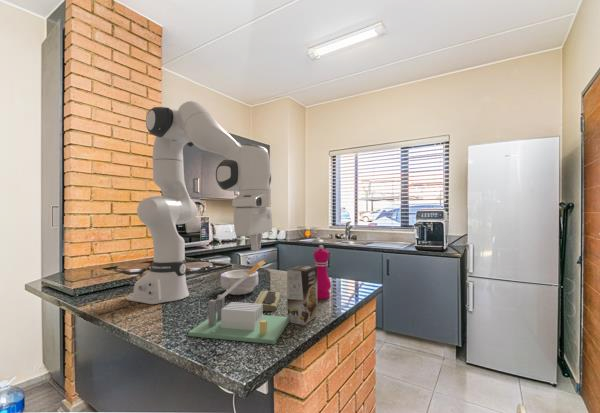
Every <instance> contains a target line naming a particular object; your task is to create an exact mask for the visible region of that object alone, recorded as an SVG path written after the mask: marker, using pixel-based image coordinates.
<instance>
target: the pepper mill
mask: <svg viewBox="0 0 600 413" xmlns="http://www.w3.org/2000/svg"><path fill="white" fill-rule="evenodd" d="M329 258H330V254H329V251H328V250H327V249H325V248H324V245H322V244H320V245H318V248H317V249H316V250H315V251H314V252H313V259H314V260H315V261H314V263H315V264H314V266H317V300H318V299H320V300H326V299H329V298H330V297H331V296H330V294H331V293H330V291H329V290H331V287H332V283H331V280H330V277H329V275H328V271H327V270H328V265H329V264H328V263H329V261H328V260H329Z"/></svg>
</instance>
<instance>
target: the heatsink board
mask: <svg viewBox="0 0 600 413" xmlns="http://www.w3.org/2000/svg"><path fill="white" fill-rule="evenodd" d="M221 295H222V294H218V295H216V296H217V298H219V297H220V296H221ZM225 297H226V296H225ZM225 297H224V298H223V299H222V300H221V301H220V302H219V303H217V304H216V299H217V298H216V299H209V300H208V317H207V318H206V319H205V320H204V321H202V322H201V323H199V324H198V325H197V326H195V327H194V328H192V329H190V330H189V331H188V334H187V335H188V336H189V337H197V338H208V339H215V340H217V339H218V340H226V341H227V340H229V341H238V342H247V343H249V342H250V343H259V344H268V345H275V344H276V343H277V341H278V340H279V338H280V336H281V335H282V334H283V332H284V330H285V329H286V327H288V326H287V325H288V324H289V323H290V322H289V318H287V316H279V315H269V314H268V315H267V314H264V313H263V312H264V311H263V304H254V302H253V303H250V302H238V301H237V302H236V301H235V302H234V301H230V302H229V303H227V304H226V305H225V303H226V302H225Z"/></svg>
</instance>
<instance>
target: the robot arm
mask: <svg viewBox="0 0 600 413" xmlns="http://www.w3.org/2000/svg"><path fill="white" fill-rule="evenodd" d="M145 125H146V126H145V127H146V130H147V131H148V133H149V134H150V135H152V136H155V138H154V141H153V147H152V180H153V183H154V184H155V185H156V186H158V188H159V189H160V191H161V193H162V196H161V195H156V196H149V197H146V198H143V199H142V200H140V202H139V203H138V205H137V208H136V215H137V217H138V219H139V221H140V222H141V223H142V224H143V225H145V226H146V228H147V229H148V231H149V233H150V236H151V238H152V244H153V245H152V246H153V261H152V262H150V263H147V264H146V265H147V266H146V267H148V268H149V271H148V272H146V273H145V274H144V275H143V276H141V277H140V278H139V279H138V280H136V282H135V283H134V287H133V292H132V293H130V294H128V295H127V296H126V301H129V302H130V301H131V302H137V303H138V302H139V303H144V304H149V305H157V304H161V303H169V302H176V301H180V300H182V299H184V298H188V297H189V296H190V293H189V292H190V291H189V289H188V285H187V284H188V283H187V280H186V279H187V278H186V273H187V260H186V259H185V258H186V256H185V255H186V254H185V253H186V250H185V247H186V246H185V245H186V244H185V243H186V242H185V239H184V237H183V236H181V235H180V234H179V232H178V230H177V226H176V225H184V224H187V223H190V222H192V221H193V220H195V218H196V217H197V215H198V206H197V204H196V203H195V201H194V200H192V198H191V197H190V195H189V192H188V190H187V186H186V182H185V172H184V170H185V168H184V147H185V145H187V146H188V147H190V148H191V147H194V146H195V147H197V148H198V149H199V150H203V151H206V152H210V153H213V154H216V155H220V156H223V157H225V158H226V159H223V160H222V161H220V162H219V163H218V165H217V167H216V169H215V180H216V184H217V185H218V187H219V188H220V189H222V190H224V191H228V192H236V193H239V194H238V195H237V196H236V197H234V198H233V199H232V200H231V201H232V204H231V205H232V208H234V210H233V227H234V232H235V236H236V237H248V240H249V243H250V250H251V251H255V252H256V251H258V250H260V249H261V248H262V246H261V245H262V244H261V243H262V239H263V234H264V233H269V232H271V231H272V229H273V220H272V210H271V206H272V199H271V197H272V193H271V182H272V174H271V159H270V154H269V151H268V149H267V148H266V147H264V146H261V145H258V144H253V143H252V144H249V143H246V144H241V143H240V142H239V141H237V140H236V139H235V138H234V137H233V136H232V135H231V134H230V133H229V132H228V131H226V129H224V128H223V127H222V125H221V124H220V123H219V122H218V121H217V120H216V119H215V118H214V117H213V115H212V114H211V113H210V112H209V111H208V109H206V108H205V107H204V106H203V105H202V104H200V103H198V102H197V101H192V100H190V101H186V102H183V103H182V104H181V105H180V106H179V107H178V109H171V108H170V107H165V106H154V107H152V108H151V109H149V110H148V111H147V113H146V117H145Z"/></svg>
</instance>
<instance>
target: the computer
mask: <svg viewBox="0 0 600 413" xmlns="http://www.w3.org/2000/svg"><path fill="white" fill-rule="evenodd" d="M259 292H260V293H259V294H258V295H257V297H256V298H255V299H256V300H254V302H253V304H263V312H276V311H277V308H278V305H279V302H280V300H281V297H282V293H281V292H278V291H272V290H261V291H259Z"/></svg>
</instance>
